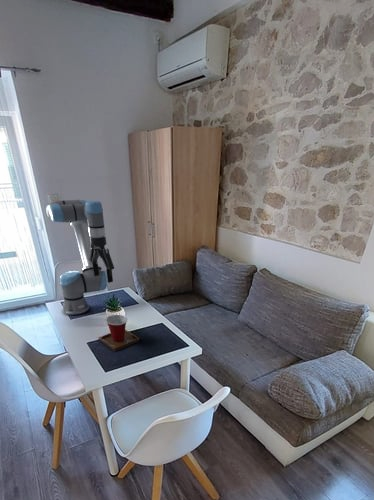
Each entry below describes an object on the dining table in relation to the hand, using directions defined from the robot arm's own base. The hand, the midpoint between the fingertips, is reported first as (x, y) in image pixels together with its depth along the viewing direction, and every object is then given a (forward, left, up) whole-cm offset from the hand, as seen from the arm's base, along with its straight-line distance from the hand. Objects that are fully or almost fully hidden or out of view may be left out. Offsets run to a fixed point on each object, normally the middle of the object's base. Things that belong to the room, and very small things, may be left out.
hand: (103, 278), depth 165 cm
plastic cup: (+20, -7, -26) cm, 34 cm away
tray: (+20, -7, -27) cm, 34 cm away
